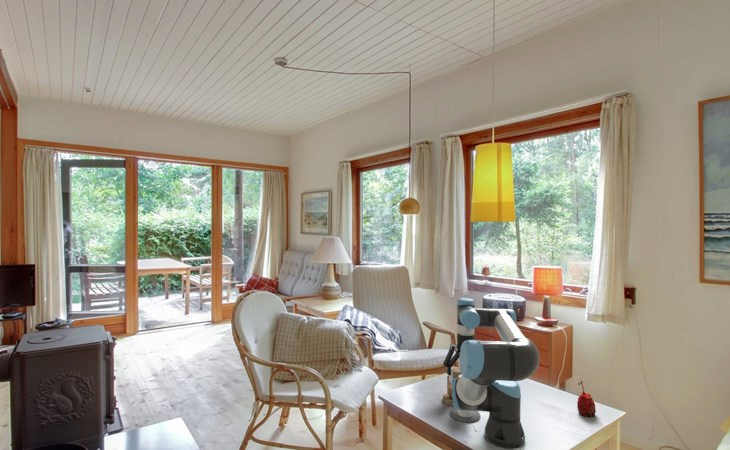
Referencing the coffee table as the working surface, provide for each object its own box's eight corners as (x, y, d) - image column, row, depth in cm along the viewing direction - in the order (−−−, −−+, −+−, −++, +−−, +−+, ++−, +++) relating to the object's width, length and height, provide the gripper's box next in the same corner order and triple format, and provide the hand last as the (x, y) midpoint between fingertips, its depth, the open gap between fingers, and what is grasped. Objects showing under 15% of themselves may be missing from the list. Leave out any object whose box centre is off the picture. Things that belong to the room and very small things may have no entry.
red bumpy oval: (588, 419, 165) (588, 385, 165) (573, 412, 171) (573, 379, 171) (599, 415, 169) (599, 382, 168) (583, 408, 175) (584, 376, 175)
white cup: (468, 408, 174) (468, 386, 173) (477, 417, 166) (477, 394, 166) (452, 410, 171) (452, 388, 171) (461, 419, 164) (461, 396, 164)
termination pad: (485, 421, 163) (485, 420, 163) (457, 424, 161) (457, 422, 161) (472, 406, 176) (472, 405, 176) (445, 409, 174) (445, 407, 174)
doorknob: (467, 405, 177) (468, 373, 177) (447, 407, 176) (447, 374, 176) (459, 395, 187) (459, 365, 187) (439, 397, 186) (439, 366, 185)
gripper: (442, 337, 162) (441, 386, 162) (496, 334, 166) (495, 382, 167) (435, 332, 170) (435, 379, 170) (487, 329, 174) (487, 376, 174)
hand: (465, 381), depth 168 cm, fingers open, 13 cm apart
